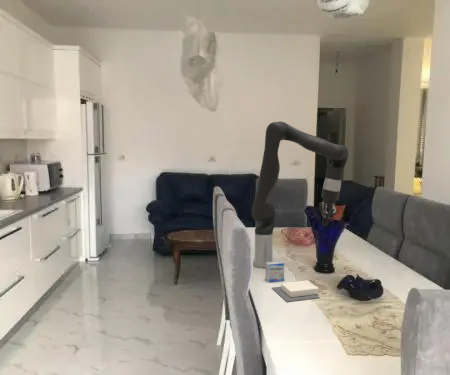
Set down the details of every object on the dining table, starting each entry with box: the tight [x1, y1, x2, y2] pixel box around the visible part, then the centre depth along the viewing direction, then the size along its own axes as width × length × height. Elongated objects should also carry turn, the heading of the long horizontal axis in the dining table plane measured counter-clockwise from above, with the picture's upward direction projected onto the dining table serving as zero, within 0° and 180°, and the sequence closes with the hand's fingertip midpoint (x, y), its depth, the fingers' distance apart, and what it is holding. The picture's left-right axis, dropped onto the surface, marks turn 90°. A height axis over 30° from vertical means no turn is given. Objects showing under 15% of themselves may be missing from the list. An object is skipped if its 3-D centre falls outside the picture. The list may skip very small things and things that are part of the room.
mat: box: [271, 286, 320, 303], centre depth 178 cm, size 16×15×1 cm
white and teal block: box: [280, 280, 320, 297], centre depth 178 cm, size 10×3×13 cm
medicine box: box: [264, 260, 285, 283], centre depth 194 cm, size 8×4×9 cm, turn 105°
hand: (324, 225), depth 189 cm, fingers closed
